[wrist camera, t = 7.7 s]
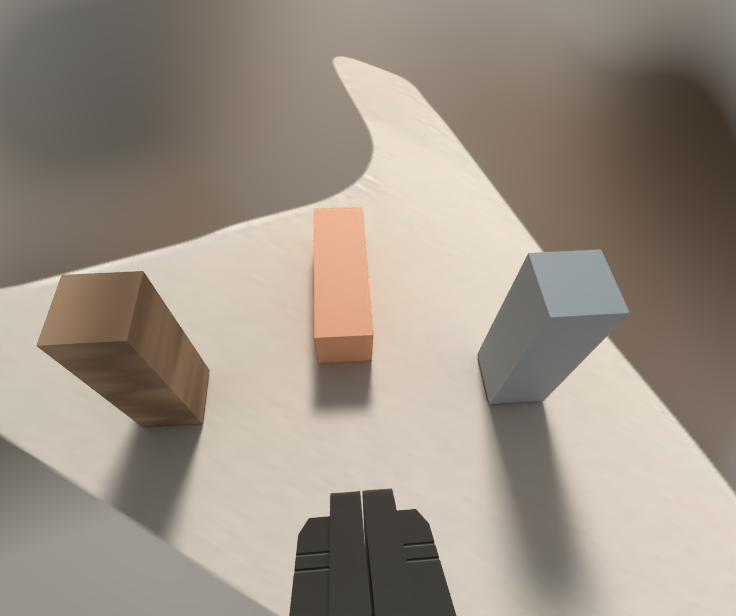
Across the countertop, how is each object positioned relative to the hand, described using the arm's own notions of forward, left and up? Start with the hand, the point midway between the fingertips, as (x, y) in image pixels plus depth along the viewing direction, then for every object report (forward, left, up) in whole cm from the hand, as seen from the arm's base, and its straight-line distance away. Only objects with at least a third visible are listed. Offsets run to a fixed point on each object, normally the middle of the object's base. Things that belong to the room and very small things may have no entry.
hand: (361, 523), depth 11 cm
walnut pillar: (-16, +4, -18) cm, 25 cm away
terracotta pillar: (-7, +11, -17) cm, 21 cm away
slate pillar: (+5, +16, -18) cm, 25 cm away
